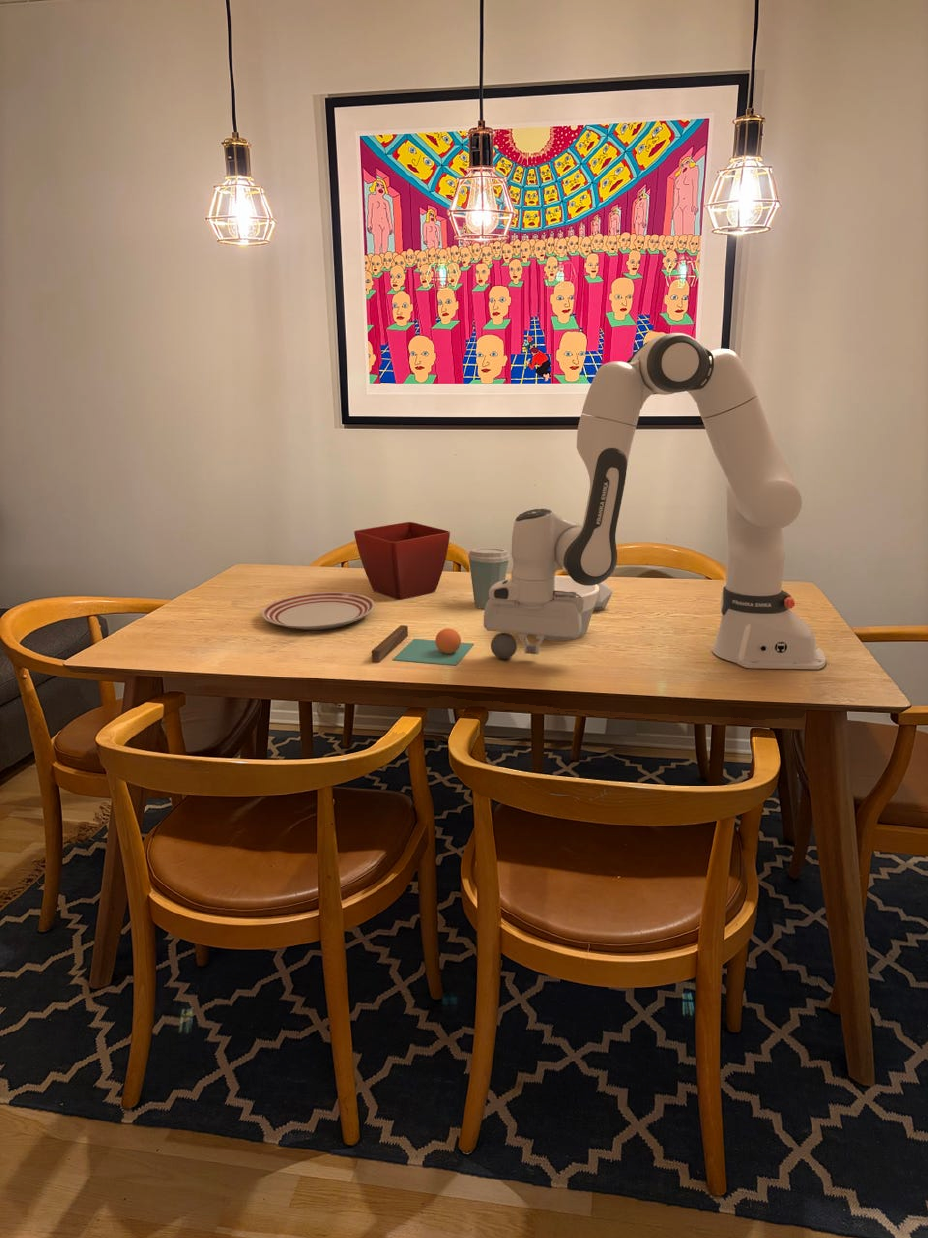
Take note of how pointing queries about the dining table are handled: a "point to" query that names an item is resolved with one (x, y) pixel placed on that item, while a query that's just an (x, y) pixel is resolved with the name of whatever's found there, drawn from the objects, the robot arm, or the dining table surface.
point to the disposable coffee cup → (486, 571)
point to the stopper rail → (389, 643)
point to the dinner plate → (318, 610)
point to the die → (602, 596)
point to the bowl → (584, 591)
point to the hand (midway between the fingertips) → (531, 653)
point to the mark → (431, 653)
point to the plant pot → (403, 558)
